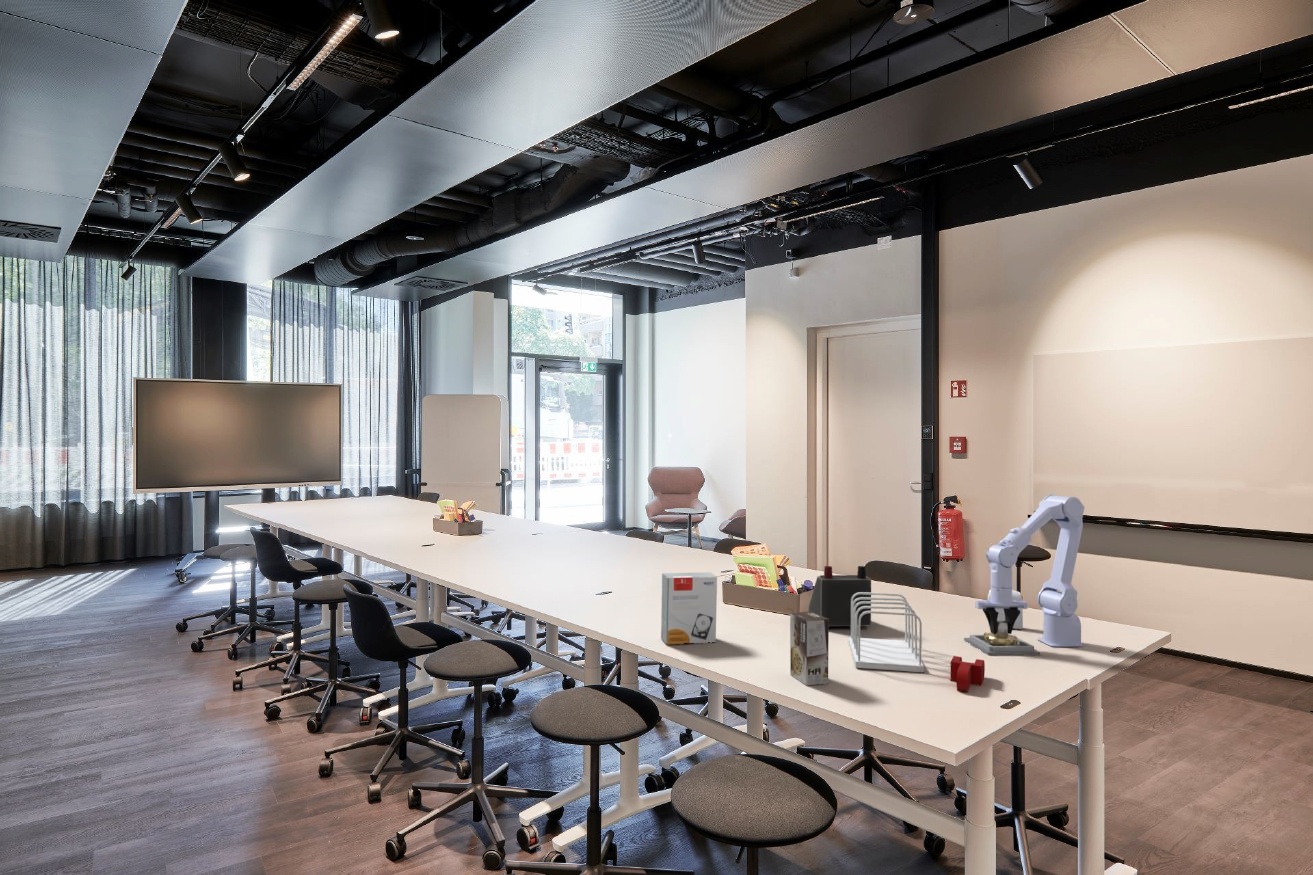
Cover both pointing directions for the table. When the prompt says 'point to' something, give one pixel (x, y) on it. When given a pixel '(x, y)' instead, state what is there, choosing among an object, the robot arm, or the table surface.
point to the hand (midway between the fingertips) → (1001, 633)
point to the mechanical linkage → (967, 673)
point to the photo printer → (1017, 597)
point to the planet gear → (1001, 635)
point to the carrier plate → (1001, 647)
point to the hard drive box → (688, 608)
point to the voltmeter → (840, 597)
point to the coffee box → (809, 647)
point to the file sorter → (882, 650)
